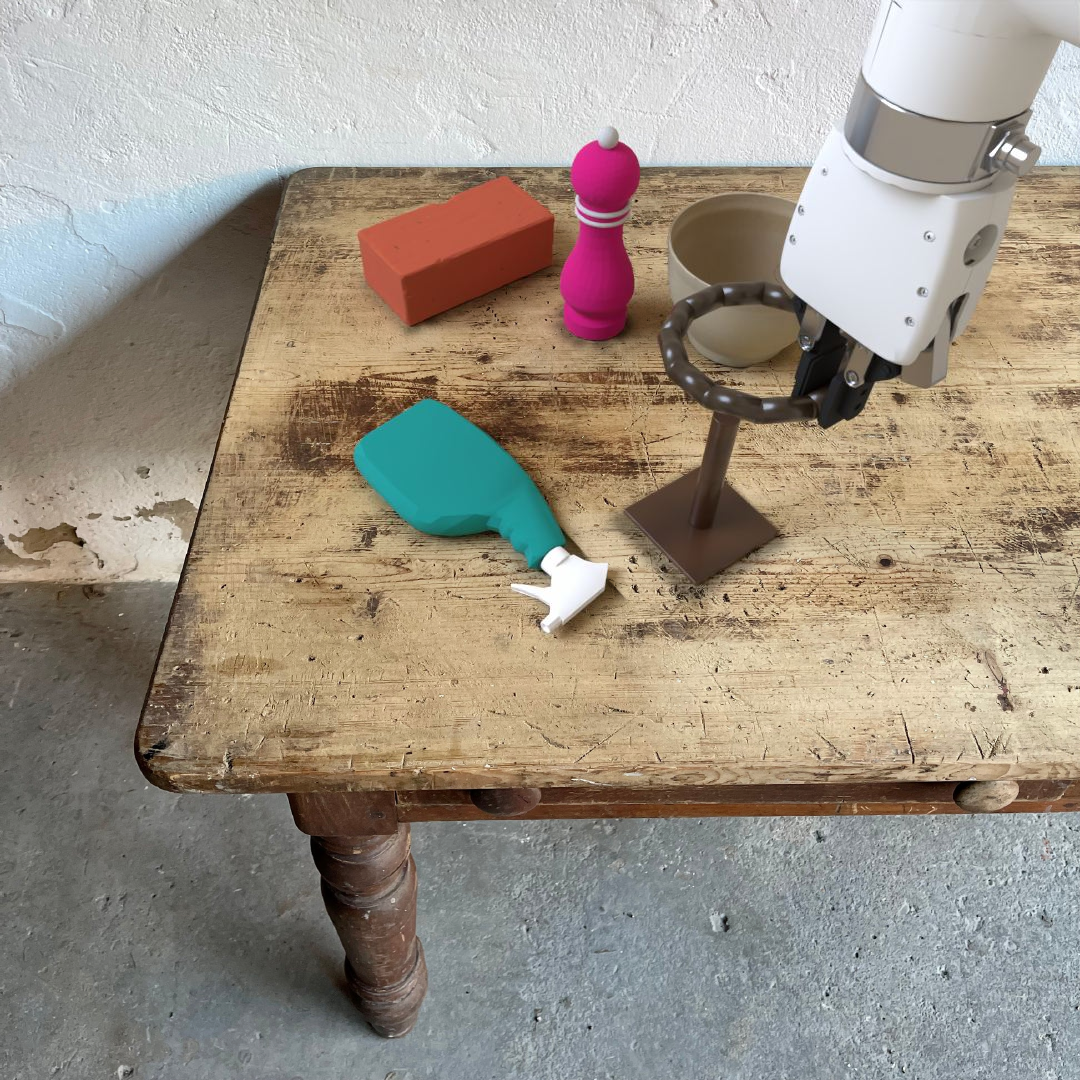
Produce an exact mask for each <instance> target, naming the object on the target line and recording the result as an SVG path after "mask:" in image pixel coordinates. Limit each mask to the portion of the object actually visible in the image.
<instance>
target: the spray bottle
mask: <svg viewBox="0 0 1080 1080" xmlns="http://www.w3.org/2000/svg"><path fill="white" fill-rule="evenodd" d="M353 462H354V464H355V467H356V469H357V470H358V471H359V472H360V474H361V475H362V477H363V478H364V479H365V481H366V482H367V483H368V485H369V486H370V487H371V488H372V489H373V490H374V491H375V492H376V493H377V495H379V496H380V497H381V499H383V501H385V502H386V504H387V505H389V506H390V507H391V508H392V509H393V511H394V512H395V513H396V514H397V515H398V516H399V517H400V518H401V519H402V520H404V521H405V522H406V523H407V524H409V525H410V526H411V527H413V528H414V529H415V530H417V531H420V532H423V533H426V534H429V535H432V536H447V537H459V536H468V535H475V534H478V533H484V532H487V531H493V532H496V533H498V534H500V536H501V538H502V539H503V540H507V541H509V542H510V544H511V546H512V549H513V550H514V552H517V553H519V554H522V555H524V556H525V559H526V560H525V561H526V563H527V567H528V569H530V570H536V571H537V570H538V571H542V570H543V571H544V572H545V573H546V574H547V575H549V577H550V586H547V587H540V586H534V585H528V584H523V583H522V584H521V583H511V584H510V590H511V591H514V592H516V593H520V594H523V595H525V596H528V597H531V598H534V599H537V600H539V601H540V602H542V603H544V604H545V605H547V606H548V607H549V614H548V615H547V616H546V617H545V618H544V619H543V620H542V621H541V622H540V627H541V629H542V630H543V631H544V632H545V633H546V634H551V633H552V632H553V631H554V630H556V629H557V628H558V627H559V626H560V625H561V626H564V625H565V624H567V623H568V622H569V621H570V620H571V619H572V618H574V617H575V616H576V615H577V614H578V613H580V612H581V611H582V610H583V609H585V608H586V607H587V606H588V605H589V604H591V603H592V602H593V601H594V600H595V599H596V598H597V597H599V596H600V595H601V594H602V593H603V592H604V591H605V589H606V582H607V575H608V571H609V570H608V569H609V563H608V562H592V561H589V560H584V558H581V557H579V556H578V555H575V554H571V553H569V552H568V551H567V550H566V546H567V540H566V538H565V535H564V533H563V531H562V529H561V527H560V525H559V523H558V521H557V519H556V517H555V515H554V513H553V511H552V509H551V507H550V506H549V504H548V502H547V500H546V499H545V497H544V496H543V495H542V493H541V492H540V490H539V488H538V487H537V485H536V484H535V482H534V480H533V479H532V478H531V477H530V475H528V473H527V471H525V470H524V469H523V467H522V466H521V465H520V463H518V461H517V460H516V459H515V458H514V457H513V456H512V455H511V454H510V453H509V452H508V451H507V450H506V449H505V448H503V447H502V445H500V444H499V443H498V441H496V440H495V439H494V438H493V437H492V436H491V435H490V434H488V433H487V432H486V431H484V430H483V429H481V428H480V427H478V426H477V425H476V424H474V423H473V422H471V421H470V420H468V419H467V418H465V417H464V416H463V415H462V414H460V413H459V412H457V411H455V410H454V409H452V408H451V407H450V406H449V405H447V404H445V403H443V402H440V401H438V400H435V399H433V398H424V399H422V400H420V401H419V402H417V403H415V404H414V405H412V406H410V407H409V408H407V409H405V410H404V411H402V412H401V413H399V414H397V415H395V416H394V417H392V418H391V419H389V420H387V421H386V422H384V423H383V424H381V425H380V426H378V427H376V428H375V429H373V430H371V431H369V432H368V433H366V434H365V435H364V436H363V437H362V438H361V439H360V440H359V441H358V443H357V445H356V446H355V449H354V450H353Z"/></svg>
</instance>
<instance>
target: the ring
mask: <svg viewBox="0 0 1080 1080" xmlns="http://www.w3.org/2000/svg"><path fill="white" fill-rule="evenodd" d="M792 300H793V299H792V298H791V299H790V298H789V297H788V295H787V294H786V292H785V291H784V290H783V288H782V287H781V286H780V285H779V284H775V283H772V282H768V281H750V282H731V283H717V284H714V285H712V286H710V287H708V288H705V289H703V290H701V291H699V292H697V293H695V294H693V295H690V296H688V297H686V298H684V299H682V300H680V301H678V302H677V303H676V304H675V306H674V305H673V308H672V309H671V311H670V313H669V315H668V316H667V317H666V319H665V320H664V322H663V324H662V326H661V328H660V329H659V331H658V334H657V338H656V339H657V344H658V347H659V351H660V355H661V360H662V363H663V366H664V370H665V374H666V376H667V378H668V379H670V380H671V382H673V383H674V385H676V386H678V388H680V389H681V390H682V391H683V392H685V393H686V394H687V395H688V396H689V397H690V398H692V399H693V400H694V401H695V402H696V403H698V404H699V406H701V407H703V408H704V409H706V410H709V411H713V412H714V411H715V412H719V413H722V414H725V415H728V416H732V417H735V418H738V419H741V420H742V421H745V422H748V423H751V424H755V425H773V424H787V423H788V424H789V423H803V422H814V421H815V420H817V418H818V417H819V415H820V410H821V408H822V405H823V402H824V400H825V397H826V394H827V392H828V389H829V386H830V384H831V381H830V382H829V383H827V384H825V385H823V386H821V387H820V388H818V389H816V390H814V391H812V392H811V393H809V394H807V395H801V396H791V395H787V396H768V397H760V396H756V395H753V394H751V393H746V392H743V391H740V390H737V389H734V388H730V387H727V386H723V385H720V384H718V383H716V382H715V381H714V380H712V378H710V377H709V376H708V375H707V374H705V373H704V372H703V371H702V370H700V369H699V368H698V367H697V366H696V365H694V363H692V362H691V361H690V359H689V356H688V352H687V348H686V345H685V342H684V338H685V336H686V334H687V331H688V329H689V327H690V325H691V324H692V322H693V320H695V319H697V318H699V317H701V316H703V315H706V314H708V313H710V312H712V311H714V310H716V309H718V308H720V307H729V306H748V305H764V306H767V307H771V308H775V309H778V310H782V311H786V312H789V313H793V314H795V311H794V308H793V304H792ZM841 335H843V336H844V337H845V338H847V339H848V341H847V344H846V345H847V349H846V351H845V354H844V357H843V359H842V362H841V365H840V367H839V370H838V372H837V375H838V374H840V373H842V372H843V371H845V369H846V367H847V364H848V362H849V359H850V357H851V355H852V352H853V350H854V348H855V345H856V343H857V340H856V339H855V338H853V337H852V336H851V335H849V334H848V333H846V332H845V331H844V332H843V333H842V334H841Z"/></svg>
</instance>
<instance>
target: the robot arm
mask: <svg viewBox="0 0 1080 1080" xmlns="http://www.w3.org/2000/svg"><path fill="white" fill-rule="evenodd" d="M1062 41H1063V42H1065V43H1068V44H1070V45H1071V46H1075V47H1077V48H1079V49H1080V0H881V1H880V4H879V7H878V11H877V13H876V17H875V20H874V23H873V27H872V30H871V33H870V37H869V40H868V44H867V47H866V50H865V54H864V56H863V60H862V63H861V67H860V70H859V73H858V77H857V78H856V82H855V87H854V89H853V94H852V96H851V99H850V103H849V106H848V110H847V112H846V113H844V114H843V115H841V116H840V117H839V118H838V119H837V120H836V121H835V123H834V124H833V127H832V128H831V130H830V132H829V133H828V135H827V137H826V139H825V140H824V142H823V144H822V146H821V148H820V150H819V152H818V154H817V156H816V158H815V160H814V162H813V164H812V167H811V169H810V171H809V173H808V175H807V178H806V180H805V183H804V185H803V188H802V191H801V193H800V196H799V198H798V201H797V202H798V204H797V206H796V209H795V212H794V214H793V217H792V220H791V224H790V227H789V230H788V233H787V236H786V240H785V244H784V248H783V252H782V257H781V262H780V263H779V264H778V265H777V267H776V268H775V270H774V276H775V278H776V280H777V281H778V283H779V284H780V286H781V287H782V288H783V290H784V291H785V292H786V294H787V295H788V297H789V298H790V299H791V298H792V299H793V300H792V304H793V308H794V311H795V314H796V316H797V319H798V322H799V325H800V330H799V334H798V338H797V340H796V341H797V344H798V346H799V348H800V349H801V350H802V352H801V356H800V359H799V361H798V364H797V367H796V371H795V374H794V380H795V381H794V385H793V388H792V390H791V393H790V396H801V395H807V394H809V393H811V392H812V391H814V390H816V389H818V388H820V387H821V386H823V385H825V384H827V383H829V382H830V381H831V384H830V386H829V389H828V392H827V394H826V397H825V400H824V402H823V405H822V408H821V410H820V415H819V417H818V418H817V419H816V422H817V426H819V427H820V428H821V429H823V430H824V431H826V430H828V429H829V428H832V427H833V426H835V425H836V424H838V423H840V422H842V421H843V420H845V421H846V422H849V421H851V420H853V419H855V418H856V417H858V416H859V415H860V414H861V413H862V411H863V410H864V409H865V406H866V404H867V402H868V400H869V397H870V395H871V393H872V390H873V388H874V386H875V383H877V382H885V381H891V380H894V379H897V380H900V382H901V383H904V384H908V385H911V386H913V387H916V388H920V389H924V390H928V389H930V388H932V387H934V386H936V385H937V384H939V383H941V382H942V381H944V380H945V379H946V378H947V374H948V362H949V351H950V344H951V343H952V342H954V341H955V340H957V339H958V338H959V337H961V335H962V334H963V333H964V331H965V330H966V328H967V327H968V325H969V323H970V321H971V319H972V317H973V315H974V312H975V310H976V308H977V305H978V303H979V302H980V298H981V296H982V294H983V291H984V289H985V286H986V284H987V281H988V279H989V276H990V274H991V271H992V269H993V266H994V263H995V260H996V258H997V256H998V252H999V250H1000V246H1001V244H1002V240H1003V237H1004V234H1005V231H1006V228H1007V224H1008V220H1009V216H1010V212H1011V208H1012V205H1013V201H1014V195H1015V191H1016V185H1017V180H1018V177H1020V178H1022V177H1024V176H1026V175H1027V174H1028V173H1029V172H1030V171H1031V170H1032V169H1033V168H1034V166H1035V165H1036V164H1037V162H1038V161H1039V159H1040V158H1041V154H1042V147H1041V146H1039V145H1037V144H1035V143H1033V142H1032V141H1030V136H1028V135H1027V134H1026V129H1027V126H1028V124H1029V123H1030V119H1031V117H1032V115H1033V114H1034V110H1033V109H1031V108H1032V105H1033V103H1034V101H1035V99H1036V97H1037V94H1038V92H1039V91H1040V88H1041V86H1042V84H1043V82H1044V79H1045V78H1046V76H1047V73H1048V71H1049V69H1050V67H1051V64H1052V62H1053V60H1054V58H1055V56H1056V54H1057V52H1058V49H1059V47H1060V45H1061V43H1062ZM844 331H845V332H846V333H848V334H849V335H851V336H852V337H853V338H855V339H856V340H857V343H856V345H855V348H854V350H853V352H852V355H851V357H850V359H849V362H848V364H847V367H846V369H845V371H843V372H842V373H840V374H838V375H837V372H838V370H839V367H840V365H841V362H842V359H843V357H844V354H845V351H846V349H847V345H846V344H847V341H848V339H847V338H845V337H844V336H843V335H841V334H842V333H843V332H844Z"/></svg>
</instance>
